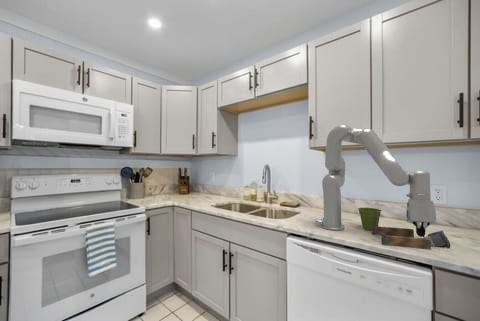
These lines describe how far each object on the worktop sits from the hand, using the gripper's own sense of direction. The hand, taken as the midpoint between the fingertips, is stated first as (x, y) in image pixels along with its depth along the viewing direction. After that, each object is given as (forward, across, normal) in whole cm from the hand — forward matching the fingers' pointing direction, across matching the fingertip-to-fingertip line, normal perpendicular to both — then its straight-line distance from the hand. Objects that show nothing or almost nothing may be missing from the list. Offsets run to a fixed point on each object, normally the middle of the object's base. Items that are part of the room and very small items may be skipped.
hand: (420, 235), depth 100 cm
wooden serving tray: (+3, -9, 0) cm, 10 cm away
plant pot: (+3, -17, +17) cm, 24 cm away
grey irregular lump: (+4, +4, 0) cm, 5 cm away
